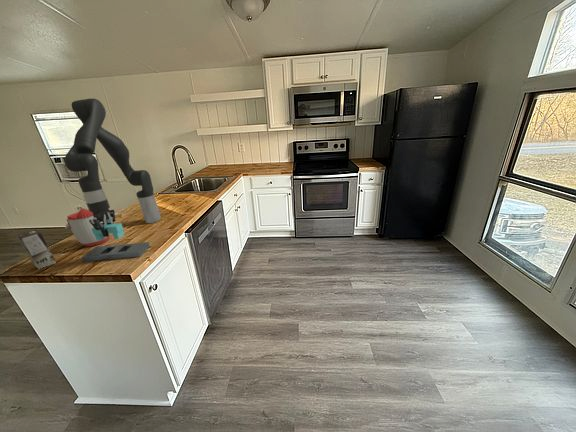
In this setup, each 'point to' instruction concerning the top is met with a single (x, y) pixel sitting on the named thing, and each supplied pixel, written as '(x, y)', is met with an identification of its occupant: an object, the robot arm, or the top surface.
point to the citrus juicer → (83, 228)
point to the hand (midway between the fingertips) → (109, 234)
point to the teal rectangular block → (110, 231)
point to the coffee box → (36, 248)
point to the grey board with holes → (116, 252)
